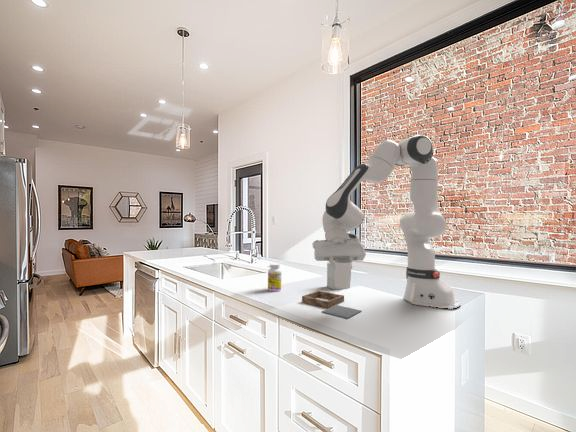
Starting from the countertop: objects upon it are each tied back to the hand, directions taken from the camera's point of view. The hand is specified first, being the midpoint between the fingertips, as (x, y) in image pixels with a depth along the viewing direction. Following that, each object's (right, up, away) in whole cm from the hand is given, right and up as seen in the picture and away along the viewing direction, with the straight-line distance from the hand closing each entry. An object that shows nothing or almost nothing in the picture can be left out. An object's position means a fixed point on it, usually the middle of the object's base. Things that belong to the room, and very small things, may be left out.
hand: (342, 268), depth 116 cm
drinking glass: (0, -7, +1) cm, 8 cm away
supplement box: (+4, -17, +40) cm, 44 cm away
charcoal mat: (0, -17, +1) cm, 17 cm away
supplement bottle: (-28, -17, +34) cm, 47 cm away
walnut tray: (-6, -17, +14) cm, 23 cm away
